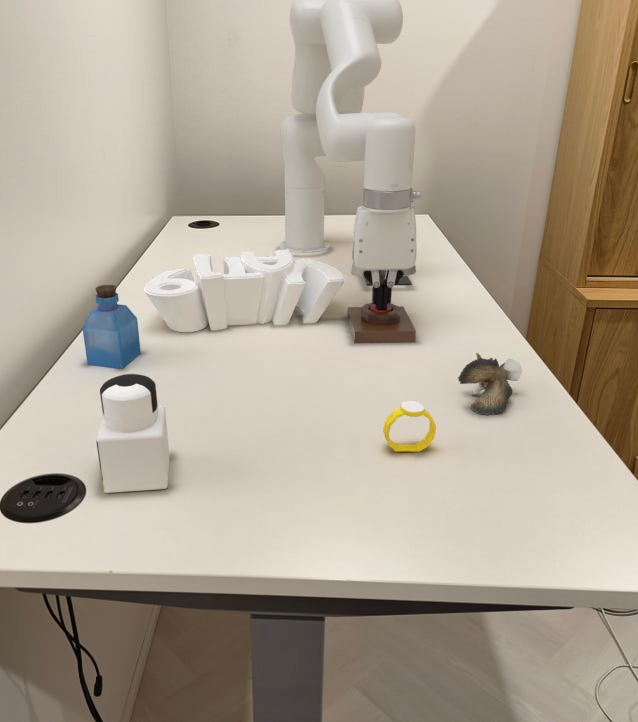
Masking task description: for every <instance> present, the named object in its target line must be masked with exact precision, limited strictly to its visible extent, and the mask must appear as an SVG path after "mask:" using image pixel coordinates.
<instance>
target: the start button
mask: <svg viewBox="0 0 638 722" xmlns="http://www.w3.org/2000/svg"><path fill="white" fill-rule="evenodd" d="M391 309H392V308H391V306H389V305H387V310H384V309H382V310H377V308H376V305H372V306H371V307H370V311H373V312H377V313H387V312H391Z"/></svg>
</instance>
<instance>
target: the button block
mask: <svg viewBox="0 0 638 722" xmlns="http://www.w3.org/2000/svg"><path fill="white" fill-rule="evenodd" d="M372 305H375V304H373V303H372V302H368V303H365V304H364V305H362V306H348V307H347V321H348V326H349V329H350V333H351V335H352V340H353V343H354V344H413V343H414V344H415V343H416V335H417V330H416V328H415V327H414V326H415V325H414V324H413V322H412V321H411V318H410V316H409V315H408V312H407V311H406V309H405V306H403V305H396V304H394V303H391V304H388V305H389V306H391V308H392V309H391V312H387V313H377V312H373V311H370V307H371V306H372Z"/></svg>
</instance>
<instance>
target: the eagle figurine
mask: <svg viewBox="0 0 638 722" xmlns="http://www.w3.org/2000/svg"><path fill="white" fill-rule="evenodd" d="M475 356H476V359H474V360H472V361H471V362H469V363H467V364H466V365H465V367H463V369H462V371H461V372H460V374H459V376H458V377H457V380H458V382H459V384H460V385H468V384H471V385H472V384H473V385H475V384H476V385H475V387H473V388H472V391H471V393H470V395H471V396H473V395H477V394H479V393H481V392H482V391H483V392H482V393H481V394H480V396H479V397H477V399H476V400H475V401H474V402H472V403H471V405H470V406H469V407H470V408H471V409H472V411H473V412H475V414H476V415H477V414H478V415H487V416H488V415H490V414H492V415H495V414H498V413H500V412H502V411H504V410H505V408H506V407H507V405H508V403H509V400H510V398H511V397H513V389H512V386H511V385H510V383H509V381H511V382H518V381H519V380H520V378H521V376H522V373H523V370H522V365H521V364H520V363H519V362H518V361H516V360H515V359H513V358H508V359H506V361H505V362H503V363H501V365H500V364H499V361H498V359H497V358H496V357H495V358H493V357H489V358H483V357H482V356H481V354H480V353H479V352H476V353H475Z"/></svg>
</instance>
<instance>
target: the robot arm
mask: <svg viewBox="0 0 638 722" xmlns="http://www.w3.org/2000/svg"><path fill="white" fill-rule="evenodd" d="M403 23H404V15H403V8H402V5H401V2H400V1H399V0H294V1H293V2H292V4H291V7H290V10H289V27H290V31H291V34H292V39H293V43H294V60H293V61H294V62H293V69H292V70H293V71H292V72H293V73H292V81H291V92H290V100H291V105H292V107H293V109H294V110H295V111H296V112H298V113H295V114H292V115H289V116H288V117H286V118H285V119H284V120H283V121H282V123H281V125H280V132H279V133H280V142H281V149H282V155H283V156H282V157H283V168H284V169H283V170H284V241H282V242H280V243H279V244H278V250H288V251H289V252H291V253H294V254H315V253H319V252H324V251H327V250H329V249H330V248H331V244H330V243H329V242H328V241H326V240H325V204H326V203H325V202H326V201H325V199H326V198H325V195H326V177H325V173H324V171H323V169H322V168H321V167H320V165H319V164H318V163H317V162H316V160H315V158H318V157H319V158H320V157H327V158H328V159H329V160H331V161H332V162H337V163H349V162H364V165H363V166H364V168H363V194H362V205H359V206H357V210H356V213H355V219H354V226H353V235H352V248H351V260H352V264H351V267H350V273H351V275H352V276H356V277H360V278H364V277H365V278H366V279H367V280H368V281H369V282H370V283H371V284H372V285H373V286H372V297H371V303H373V304H375V305H376V308H377V310H382V309H384V310H387V305H388V304H392V294H393V293H392V291H393V287H394V286H395V285H394V284H395V283H396V282H397V281H398V280H399V279H401V278H402V277H403V276H408V277H409V276H411V275H415V274H416V273H417V269H416V261H417V220H416V211H415V207H414V205H413V204H412V203H414V202H415V201H420V200H421V191H420V190H419V191H418V190H414V189H413V173H414V172H413V171H414V159H415V144H416V143H415V142H416V124H415V122H414V120H413V119H411V118H409V117H405V116H402V114H400V113H398V112H393V111H387V112H385V111H384V112H383V111H382V112H362V111H363V106H364V99H365V87H367V86H368V85H370V84H371V83H372V82H373V81H375V79H377V77H378V75H379V74H380V72H381V70H382V58H381V55H380V51H379V47H378V45H387V44H393V43H394V42H395V41H397V40H398V39H399V36H400V34H401V33H402V28H403ZM379 270H387V271H386V276H385V280H384V281H383V284H382V285H381V282H380V278H379Z"/></svg>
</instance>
